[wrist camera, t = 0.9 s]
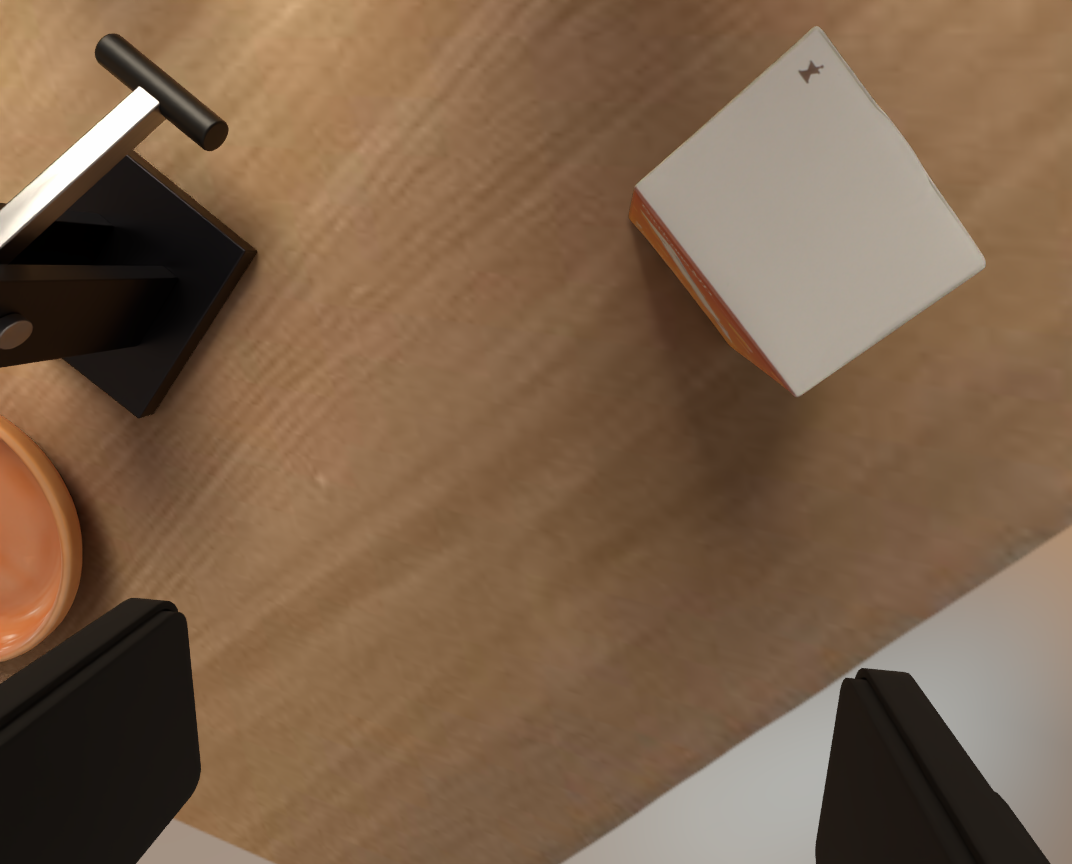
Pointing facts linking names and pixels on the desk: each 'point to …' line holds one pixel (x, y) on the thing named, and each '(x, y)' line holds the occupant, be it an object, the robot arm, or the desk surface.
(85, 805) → the robot arm
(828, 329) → the small box
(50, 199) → the lever
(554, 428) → the desk surface
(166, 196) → the stand
